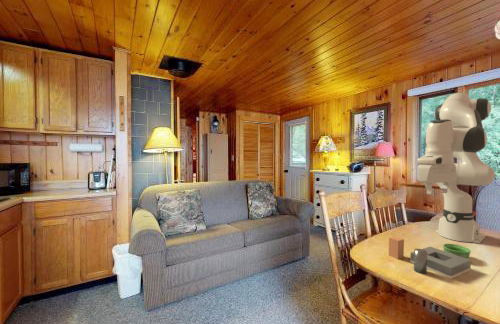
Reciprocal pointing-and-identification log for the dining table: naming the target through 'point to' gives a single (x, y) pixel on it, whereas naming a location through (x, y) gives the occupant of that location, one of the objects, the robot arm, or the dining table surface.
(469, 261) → the holder block
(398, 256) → the square bit
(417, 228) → the dining table surface
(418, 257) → the cylinder
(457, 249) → the ramekin
